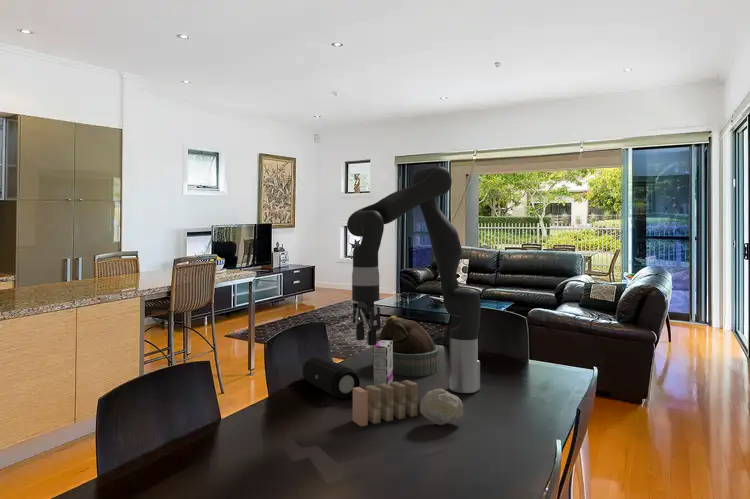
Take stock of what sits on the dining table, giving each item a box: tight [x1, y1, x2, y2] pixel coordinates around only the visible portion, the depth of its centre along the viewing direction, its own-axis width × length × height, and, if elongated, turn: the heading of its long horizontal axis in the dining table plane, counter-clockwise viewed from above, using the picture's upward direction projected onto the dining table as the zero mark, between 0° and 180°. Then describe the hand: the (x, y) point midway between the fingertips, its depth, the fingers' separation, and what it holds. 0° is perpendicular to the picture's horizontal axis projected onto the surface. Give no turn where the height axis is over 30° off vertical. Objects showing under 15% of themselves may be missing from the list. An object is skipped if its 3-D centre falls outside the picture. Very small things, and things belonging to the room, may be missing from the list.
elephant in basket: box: [379, 315, 441, 377], centre depth 187 cm, size 23×25×22 cm
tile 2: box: [390, 381, 406, 420], centre depth 138 cm, size 2×5×9 cm, turn 29°
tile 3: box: [378, 383, 394, 422], centre depth 136 cm, size 2×5×9 cm, turn 29°
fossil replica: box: [419, 388, 465, 426], centre depth 130 cm, size 12×8×10 cm
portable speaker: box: [302, 355, 361, 400], centre depth 163 cm, size 26×10×10 cm, turn 33°
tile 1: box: [401, 379, 418, 418], centre depth 140 cm, size 2×5×9 cm, turn 29°
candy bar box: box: [372, 340, 394, 388], centre depth 161 cm, size 11×5×16 cm, turn 168°
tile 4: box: [365, 384, 382, 425], centre depth 134 cm, size 2×5×9 cm, turn 29°
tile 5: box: [352, 386, 369, 427], centre depth 132 cm, size 2×5×9 cm, turn 29°
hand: (366, 342), depth 134 cm, fingers open, 8 cm apart
